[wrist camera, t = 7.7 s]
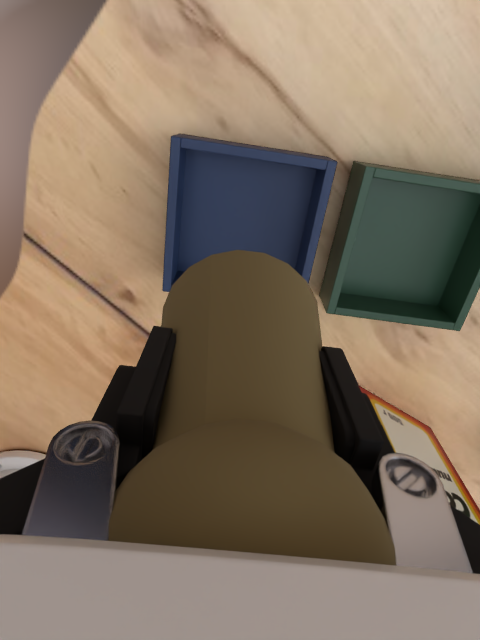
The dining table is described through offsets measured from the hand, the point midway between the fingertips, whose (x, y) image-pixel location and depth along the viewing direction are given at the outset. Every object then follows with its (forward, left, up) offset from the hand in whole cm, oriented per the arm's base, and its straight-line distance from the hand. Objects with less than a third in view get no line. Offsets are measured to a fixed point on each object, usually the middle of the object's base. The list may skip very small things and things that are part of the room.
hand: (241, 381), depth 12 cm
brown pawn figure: (0, 0, -4) cm, 4 cm away
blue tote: (0, 0, -19) cm, 19 cm away
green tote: (+12, 0, -19) cm, 23 cm away
